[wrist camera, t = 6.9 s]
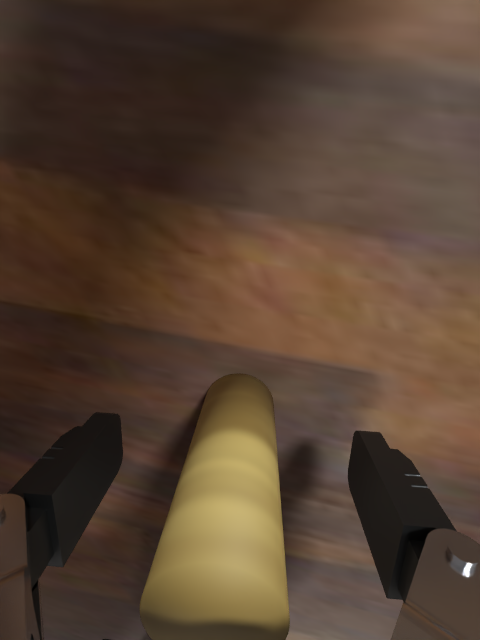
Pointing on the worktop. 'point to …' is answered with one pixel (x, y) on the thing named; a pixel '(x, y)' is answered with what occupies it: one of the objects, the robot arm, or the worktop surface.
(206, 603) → the block
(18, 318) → the worktop surface
